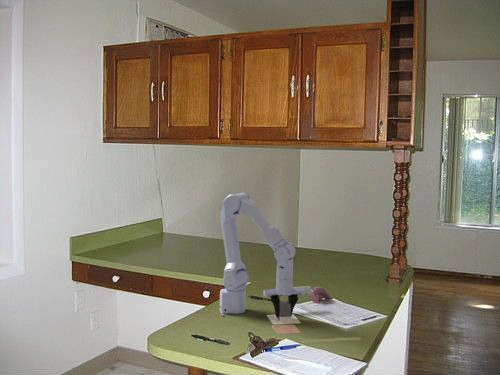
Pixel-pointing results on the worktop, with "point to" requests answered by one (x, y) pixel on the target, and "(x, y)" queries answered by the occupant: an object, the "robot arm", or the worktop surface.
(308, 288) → the white square rod
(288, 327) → the tile
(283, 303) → the plug
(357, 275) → the worktop surface
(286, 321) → the socket
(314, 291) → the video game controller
